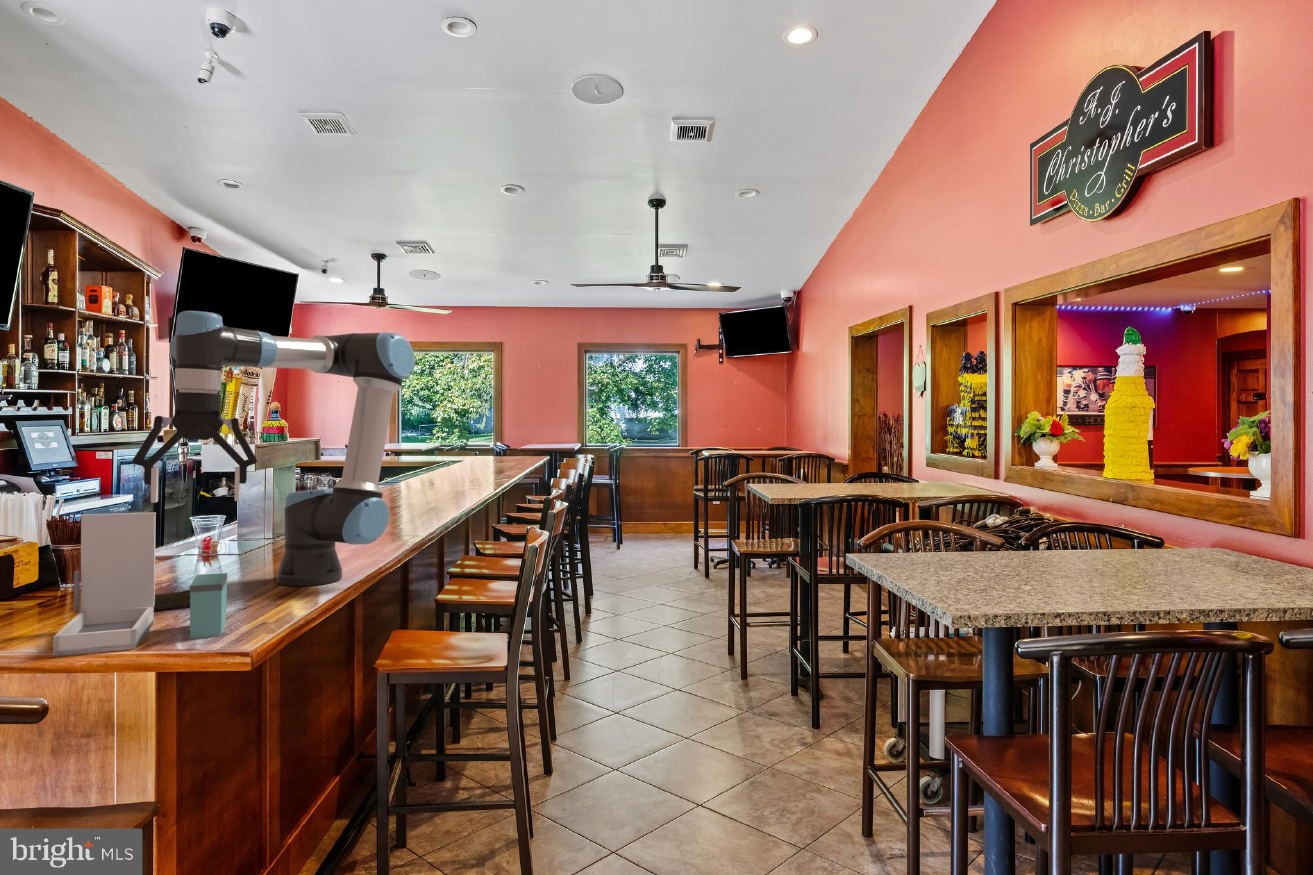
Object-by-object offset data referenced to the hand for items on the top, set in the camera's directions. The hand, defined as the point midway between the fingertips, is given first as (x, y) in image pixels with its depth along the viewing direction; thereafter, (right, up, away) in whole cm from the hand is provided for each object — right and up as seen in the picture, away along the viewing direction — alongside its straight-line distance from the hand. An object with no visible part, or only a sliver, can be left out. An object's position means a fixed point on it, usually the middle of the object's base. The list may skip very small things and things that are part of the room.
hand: (196, 501), depth 139 cm
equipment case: (-12, -25, -7) cm, 29 cm away
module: (+2, -25, 0) cm, 25 cm away
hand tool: (-15, -25, +13) cm, 32 cm away
